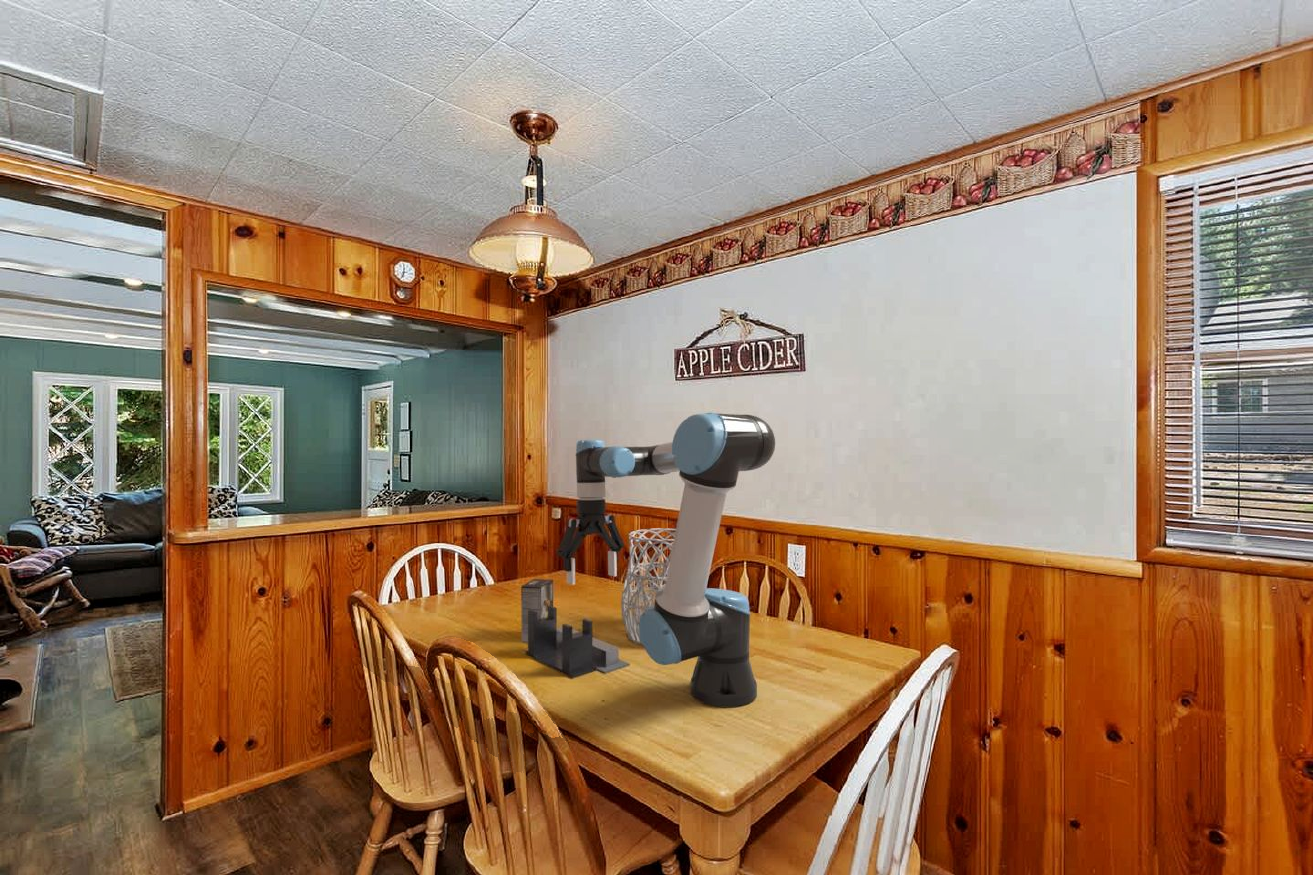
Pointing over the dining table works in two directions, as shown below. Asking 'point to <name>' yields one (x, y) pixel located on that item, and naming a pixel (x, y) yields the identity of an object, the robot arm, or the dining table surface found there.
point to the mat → (605, 669)
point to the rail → (597, 650)
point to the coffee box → (535, 601)
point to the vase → (643, 579)
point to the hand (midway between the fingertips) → (592, 579)
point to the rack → (574, 646)
